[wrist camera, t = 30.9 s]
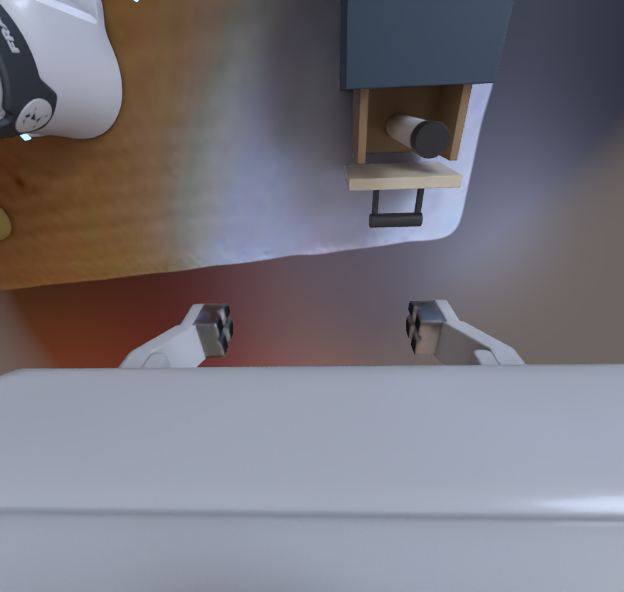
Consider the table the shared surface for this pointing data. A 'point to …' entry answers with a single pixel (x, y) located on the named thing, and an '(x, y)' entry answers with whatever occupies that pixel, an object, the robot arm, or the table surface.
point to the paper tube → (4, 225)
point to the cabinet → (421, 42)
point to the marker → (419, 134)
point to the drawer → (374, 139)
